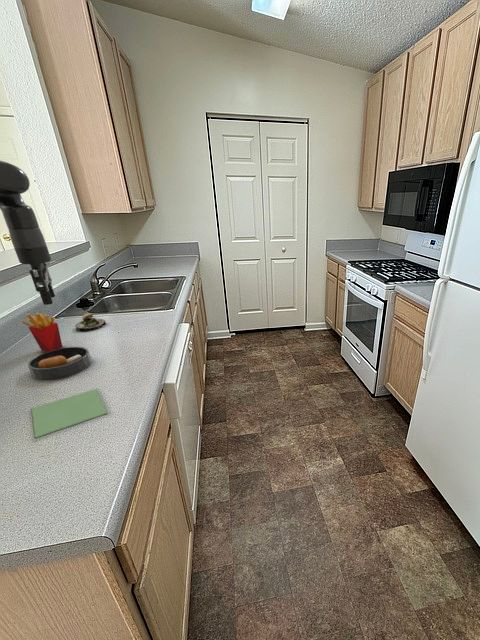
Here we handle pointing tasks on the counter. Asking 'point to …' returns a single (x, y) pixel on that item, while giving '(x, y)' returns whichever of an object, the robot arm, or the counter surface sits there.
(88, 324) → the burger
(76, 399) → the napkin
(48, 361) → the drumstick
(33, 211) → the robot arm
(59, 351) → the pan
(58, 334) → the french fries
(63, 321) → the counter surface
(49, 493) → the counter surface
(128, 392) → the counter surface
